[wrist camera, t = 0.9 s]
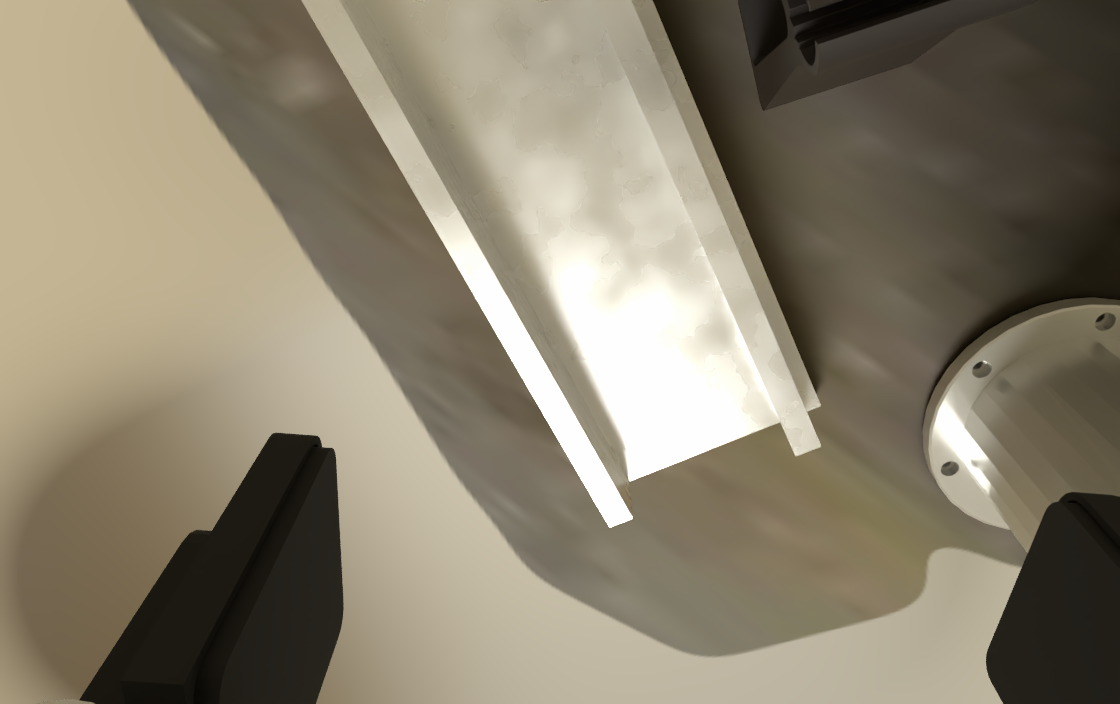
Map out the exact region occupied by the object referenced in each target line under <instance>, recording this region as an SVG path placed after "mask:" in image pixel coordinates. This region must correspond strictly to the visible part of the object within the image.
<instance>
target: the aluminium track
mask: <svg viewBox="0 0 1120 704" xmlns="http://www.w3.org/2000/svg"><path fill="white" fill-rule="evenodd" d="M302 2H303V4H304V5H305V7H306V9H307V11H308V12H309V14H310V16H311V17H312V19H313V21H314V23H315V24H316V26H317V28H318V29H319V31H320V33H321V35H322V36H323V38H324V40H325V41H326V43H327V45H328V46H329V48H330V50H331V52H332V53H333V55H334V57H335V58H336V60H337V62H338V64H339V65H340V67H341V69H342V70H343V72H344V74H345V76H346V77H347V79H348V81H349V82H350V84H351V86H352V88H353V89H354V91H355V93H356V94H357V96H358V98H359V100H360V101H361V103H362V105H363V106H364V108H365V110H366V111H367V113H368V115H369V117H370V118H371V120H372V122H373V123H374V125H375V127H376V129H377V130H378V132H379V134H380V135H381V137H382V139H383V141H384V142H385V144H386V146H387V147H388V149H389V151H390V153H391V154H392V156H393V158H394V159H395V161H396V163H397V165H398V166H399V168H400V170H401V171H402V173H403V175H404V176H405V178H406V180H407V182H408V183H409V185H410V187H411V188H412V190H413V192H414V194H415V195H416V197H417V199H418V200H419V202H420V204H421V206H422V207H423V209H424V211H425V212H426V214H427V216H428V218H429V219H430V221H431V223H432V224H433V226H434V228H435V230H436V231H437V233H438V235H439V236H440V238H441V240H442V241H443V243H444V245H445V247H446V248H447V250H448V252H449V253H450V255H451V257H452V259H453V260H454V262H455V264H456V265H457V267H458V269H459V271H460V272H461V274H462V276H463V277H464V279H465V281H466V283H467V284H468V286H469V288H470V289H471V291H472V293H473V295H474V296H475V298H476V300H477V301H478V303H479V305H480V306H481V308H482V310H483V312H484V313H485V315H486V317H487V318H488V320H489V322H490V324H491V325H492V327H493V329H494V330H495V332H496V334H497V336H498V337H499V339H500V341H501V342H502V344H503V346H504V348H505V349H506V351H507V353H508V354H509V356H510V358H511V360H512V361H513V363H514V365H515V366H516V368H517V370H518V371H519V373H520V375H521V377H522V378H523V380H524V382H525V383H526V385H527V387H528V389H529V390H530V392H531V394H532V395H533V397H534V399H535V401H536V402H537V404H538V406H539V407H540V409H541V411H542V413H543V414H544V416H545V418H546V419H547V421H548V423H549V425H550V426H551V428H552V430H553V431H554V433H555V435H556V437H557V438H558V440H559V442H560V443H561V445H562V447H563V448H564V450H565V452H566V454H567V455H568V457H569V459H570V460H571V462H572V464H573V466H574V467H575V469H576V471H577V472H578V474H579V476H580V478H581V479H582V481H583V483H584V484H585V486H586V488H587V490H588V491H589V493H590V495H591V496H592V498H593V500H594V502H595V503H596V505H597V507H598V508H599V510H600V512H601V513H602V515H603V517H604V519H605V520H606V522H607V524H608V525H609V527H612V526H615V525H618V524H620V523H623V522H625V521H628V520H631V519H633V514H632V504H631V493H630V483H629V481H632V480H634V479H637V478H639V477H642V476H644V475H647V474H649V473H652V472H654V471H657V470H660V469H662V468H665V467H667V466H670V465H672V464H675V463H677V462H680V461H682V460H685V459H688V458H690V457H693V456H695V455H698V454H700V453H703V452H705V451H708V450H710V449H713V448H715V447H718V446H721V445H723V444H726V443H728V442H731V441H733V440H736V439H738V438H741V437H743V436H746V435H748V434H751V433H754V432H756V431H759V430H761V429H764V428H766V427H769V426H771V425H774V424H776V423H779V422H781V424H782V427H783V429H784V431H785V433H786V436H787V438H788V440H789V443H790V445H791V447H792V449H793V452H794V454H795V456H798V455H801V454H803V453H806V452H808V451H811V450H814V449H816V448H819V447H821V445H820V442H819V440H818V437H817V435H816V433H815V430H814V428H813V426H812V423H811V421H810V419H809V416H808V414H807V411H809V410H812V409H815V408H817V407H820V406H821V405H820V402H819V400H818V397H817V395H816V393H815V390H814V388H813V385H812V383H811V381H810V378H809V376H808V373H807V371H806V369H805V366H804V364H803V361H802V359H801V357H800V354H799V352H798V349H797V347H796V345H795V342H794V340H793V337H792V335H791V332H790V330H789V328H788V325H787V323H786V320H785V318H784V316H783V313H782V311H781V308H780V306H779V304H778V301H777V299H776V296H775V294H774V292H773V289H772V287H771V284H770V282H769V280H768V277H767V275H766V272H765V270H764V267H763V265H762V263H761V260H760V258H759V255H758V253H757V251H756V248H755V246H754V243H753V241H752V239H751V236H750V234H749V231H748V229H747V227H746V224H745V222H744V219H743V217H742V214H741V212H740V210H739V207H738V205H737V202H736V200H735V198H734V195H733V193H732V190H731V188H730V186H729V183H728V181H727V178H726V176H725V174H724V171H723V169H722V166H721V164H720V162H719V159H718V157H717V154H716V152H715V149H714V147H713V145H712V142H711V140H710V137H709V135H708V133H707V130H706V128H705V125H704V123H703V121H702V118H701V116H700V113H699V111H698V109H697V106H696V104H695V101H694V99H693V97H692V94H691V92H690V89H689V87H688V84H687V82H686V80H685V77H684V75H683V72H682V70H681V68H680V65H679V63H678V60H677V58H676V56H675V53H674V51H673V48H672V46H671V44H670V41H669V39H668V36H667V34H666V31H665V29H664V27H663V24H662V22H661V19H660V17H659V15H658V12H657V10H656V7H655V5H654V3H653V0H302Z"/></svg>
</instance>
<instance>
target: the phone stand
mask: <svg viewBox="0 0 1120 704" xmlns="http://www.w3.org/2000/svg"><path fill="white" fill-rule="evenodd" d="M1036 1H1037V0H738V4H739V9H740V13H741V18H742V22H743V27H744V31H745V36H746V40H747V45H748V49H749V54H750V58H751V63H752V67H753V72H754V77H755V81H756V86H757V90H758V95H759V99H760V103H761V107H762V109H763V111H764V110H767V109H770V108H773V107H776V106H779V105H783V104H786V103H789V102H792V101H795V100H798V99H801V98H804V97H807V96H810V95H813V94H816V93H820V92H823V91H826V90H829V89H832V88H835V87H838V86H841V85H844V84H847V83H850V82H853V81H857V80H860V79H863V78H866V77H869V76H872V75H875V74H878V73H881V72H884V71H887V70H890V69H894V68H897V67H900V66H903V65H906V64H909V63H911V62H913V61H914V60H915V59H917V58H918V57H919V56H921V55H922V54H924V53H925V52H926V51H928V50H929V49H930V48H932V47H933V46H934V45H936V44H937V43H939V42H940V41H941V40H943V39H944V38H945V37H947V36H948V35H949V34H951V33H952V32H954V31H955V30H956V29H958V28H960V27H964V26H967V25H970V24H973V23H976V22H979V21H982V20H985V19H988V18H991V17H994V16H997V15H1000V14H1003V13H1006V12H1009V11H1012V10H1015V9H1018V8H1021V7H1025V6H1028V5H1031V4H1033V3H1035V2H1036Z"/></svg>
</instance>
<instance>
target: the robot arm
mask: <svg viewBox="0 0 1120 704" xmlns="http://www.w3.org/2000/svg"><path fill="white" fill-rule="evenodd" d="M922 433H923V451H924V455H925V458H926V461H927V465H928V468H929V470H930V472H931V473H932V475H933V477H934V479H935V480H936V482H937V484H938V485H939V487H940V488H941V489H942V491H943V492H944V493H945V495H946V496H947V497H948V498H949V500H950V501H951V502H952V503H953V504H955V505H956V506H957V507H958V508H960V509H961V510H962V511H963V512H965V513H966V514H967V515H969V516H971V517H973V518H975V519H977V520H979V521H982V522H984V523H986V524H990V525H993V526H997V527H1000V528H1004V529H1010V530H1011V531H1012V532H1013V534H1014V535H1015V536H1016V538H1017V539H1018V540H1019V542H1020V543H1021V545H1022V546H1023V547H1024V549H1025V550H1026V551H1027V553H1028V554H1027V556H1026V559H1025V561H1024V564H1023V566H1022V568H1021V571H1020V573H1019V576H1018V578H1017V580H1016V583H1015V585H1014V588H1013V590H1012V593H1011V595H1010V597H1009V600H1008V602H1007V605H1006V607H1005V610H1004V612H1003V614H1002V617H1001V619H1000V621H999V624H998V626H997V629H996V631H995V633H994V636H993V638H992V641H991V643H990V646H989V648H988V651H987V656H986V666H987V672H988V675H989V678H990V680H991V682H992V684H993V686H994V687H995V690H996V691H997V693H998V695H999V697H1000V698H1001V700H1002V702H1003V704H1120V300H1113V299H1104V298H1095V297H1091V298H1076V299H1065V300H1061V301H1056V302H1052V303H1048V304H1043V305H1039V306H1036V307H1034V308H1031V309H1029V310H1026V311H1024V312H1021V313H1019V314H1016V315H1014V316H1012V317H1010V318H1008V319H1006V320H1005V321H1003V322H1001V323H999V324H998V325H996V326H994V327H993V328H991V329H989V330H988V331H986V332H985V333H984V334H983V335H981V336H980V337H979V338H978V339H976V340H975V341H974V342H973V343H971V344H970V345H969V346H968V347H966V348H965V349H964V351H963V352H962V353H961V354H960V355H959V356H958V357H957V358H956V359H955V360H954V361H953V363H952V364H951V365H950V366H949V367H948V368H947V370H946V372H945V373H944V375H943V376H942V378H941V379H940V381H939V382H938V384H937V385H936V387H935V389H934V392H933V394H932V396H931V399H930V401H929V404H928V406H927V409H926V413H925V419H924V424H923V430H922ZM335 456H336V455H335V452H334V449H333V448H323V447H322V444H321V440H320V438H319V437H318V436H312V435H299V434H285V433H273V434H272V435H271V436H270V437H269V439H268V441H267V442H266V444H265V446H264V447H263V449H262V450H261V452H260V454H259V455H258V457H257V458H256V460H255V462H254V463H253V465H252V467H251V468H250V470H249V471H248V473H247V475H246V477H245V478H244V480H243V481H242V483H241V485H240V486H239V488H238V489H237V491H236V493H235V494H234V496H233V497H232V499H231V501H230V502H229V504H228V506H227V507H226V509H225V511H224V512H223V514H222V515H221V517H220V519H219V520H218V522H217V523H216V525H215V527H214V528H213V530H212V531H202V530H196V531H193V532H191V533H190V534H189V535H188V536H187V537H186V538H185V540H184V541H183V542H182V543H181V545H180V546H179V548H178V549H177V551H176V553H175V554H174V556H173V557H172V559H171V560H170V562H169V563H168V565H167V566H166V568H165V569H164V571H163V572H162V574H161V575H160V577H159V579H158V580H157V582H156V583H155V585H154V586H153V588H152V589H151V591H150V592H149V594H148V595H147V597H146V598H145V600H144V601H143V603H142V605H141V606H140V608H139V609H138V611H137V612H136V614H135V615H134V617H133V618H132V620H131V621H130V623H129V625H128V626H127V628H126V629H125V631H124V632H123V634H122V636H121V637H120V638H119V640H118V641H117V643H116V645H115V646H114V647H113V649H112V651H111V652H110V654H109V655H108V657H107V658H106V660H105V661H104V663H103V665H102V666H101V667H100V669H99V670H98V672H97V674H96V675H95V677H94V678H93V680H92V681H91V683H90V684H89V686H88V687H87V689H86V691H85V692H84V694H83V695H82V697H81V698H80V700H72V699H66V700H57V701H47V702H42V703H39V704H316V701H317V698H318V695H319V693H320V690H321V687H322V683H323V680H324V678H325V675H326V672H327V669H328V666H329V663H330V660H331V657H332V654H333V651H334V648H335V646H336V643H337V640H338V636H339V633H340V630H341V624H342V619H343V586H342V568H341V549H340V529H339V510H338V490H337V473H336V472H337V470H336V457H335Z"/></svg>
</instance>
